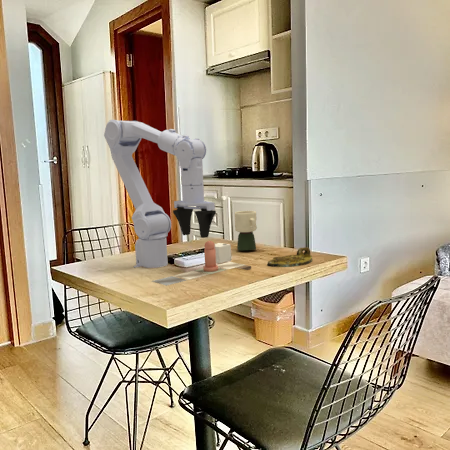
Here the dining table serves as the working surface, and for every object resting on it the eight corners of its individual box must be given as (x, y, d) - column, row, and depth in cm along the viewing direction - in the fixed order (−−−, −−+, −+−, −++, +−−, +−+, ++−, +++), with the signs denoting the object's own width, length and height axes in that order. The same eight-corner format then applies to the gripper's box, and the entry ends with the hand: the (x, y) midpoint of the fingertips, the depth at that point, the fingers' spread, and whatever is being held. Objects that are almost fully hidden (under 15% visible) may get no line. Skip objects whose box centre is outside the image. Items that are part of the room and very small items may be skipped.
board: (146, 284, 121) (146, 280, 120) (226, 264, 140) (226, 260, 140) (170, 290, 113) (170, 286, 113) (251, 268, 132) (251, 265, 132)
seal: (278, 274, 131) (320, 265, 138) (278, 257, 130) (321, 250, 137) (259, 264, 139) (300, 257, 146) (260, 249, 138) (301, 242, 145)
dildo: (200, 270, 129) (198, 241, 128) (211, 267, 132) (210, 239, 130) (210, 272, 126) (208, 242, 125) (221, 269, 129) (219, 240, 128)
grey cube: (208, 261, 145) (207, 245, 144) (220, 258, 148) (219, 242, 147) (219, 263, 141) (218, 246, 140) (231, 260, 145) (230, 244, 144)
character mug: (264, 251, 155) (263, 212, 153) (245, 254, 152) (244, 214, 150) (247, 247, 165) (246, 209, 163) (229, 249, 161) (227, 211, 160)
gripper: (164, 186, 129) (167, 235, 130) (198, 186, 118) (201, 240, 120) (184, 184, 133) (187, 232, 135) (219, 184, 123) (222, 236, 125)
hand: (195, 236), depth 128 cm, fingers open, 7 cm apart
